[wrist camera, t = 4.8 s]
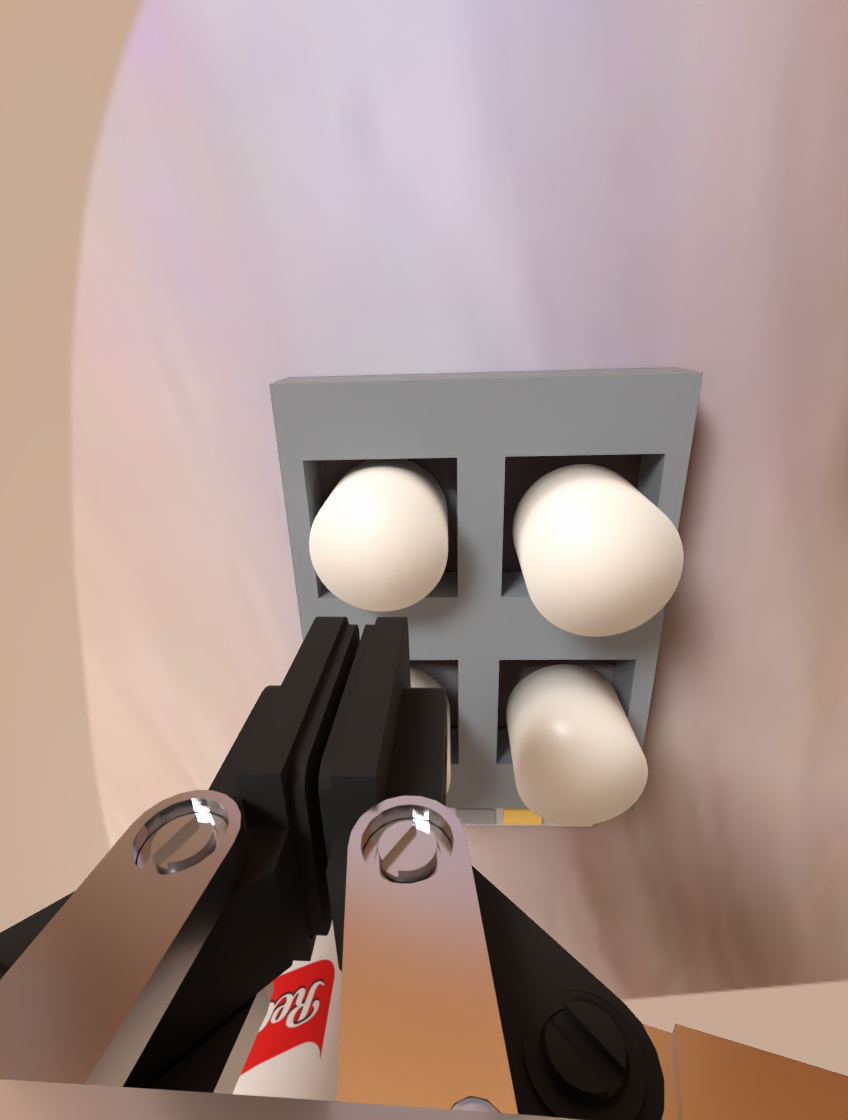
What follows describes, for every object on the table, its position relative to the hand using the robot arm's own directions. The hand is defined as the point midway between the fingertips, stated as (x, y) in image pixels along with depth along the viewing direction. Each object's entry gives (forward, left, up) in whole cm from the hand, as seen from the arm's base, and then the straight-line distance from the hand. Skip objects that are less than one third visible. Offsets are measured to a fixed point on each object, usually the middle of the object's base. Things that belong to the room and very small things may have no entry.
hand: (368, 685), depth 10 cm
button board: (-3, +5, -10) cm, 11 cm away
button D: (0, 0, -9) cm, 9 cm away
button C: (-5, 0, -8) cm, 10 cm away
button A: (-5, +7, -8) cm, 12 cm away
